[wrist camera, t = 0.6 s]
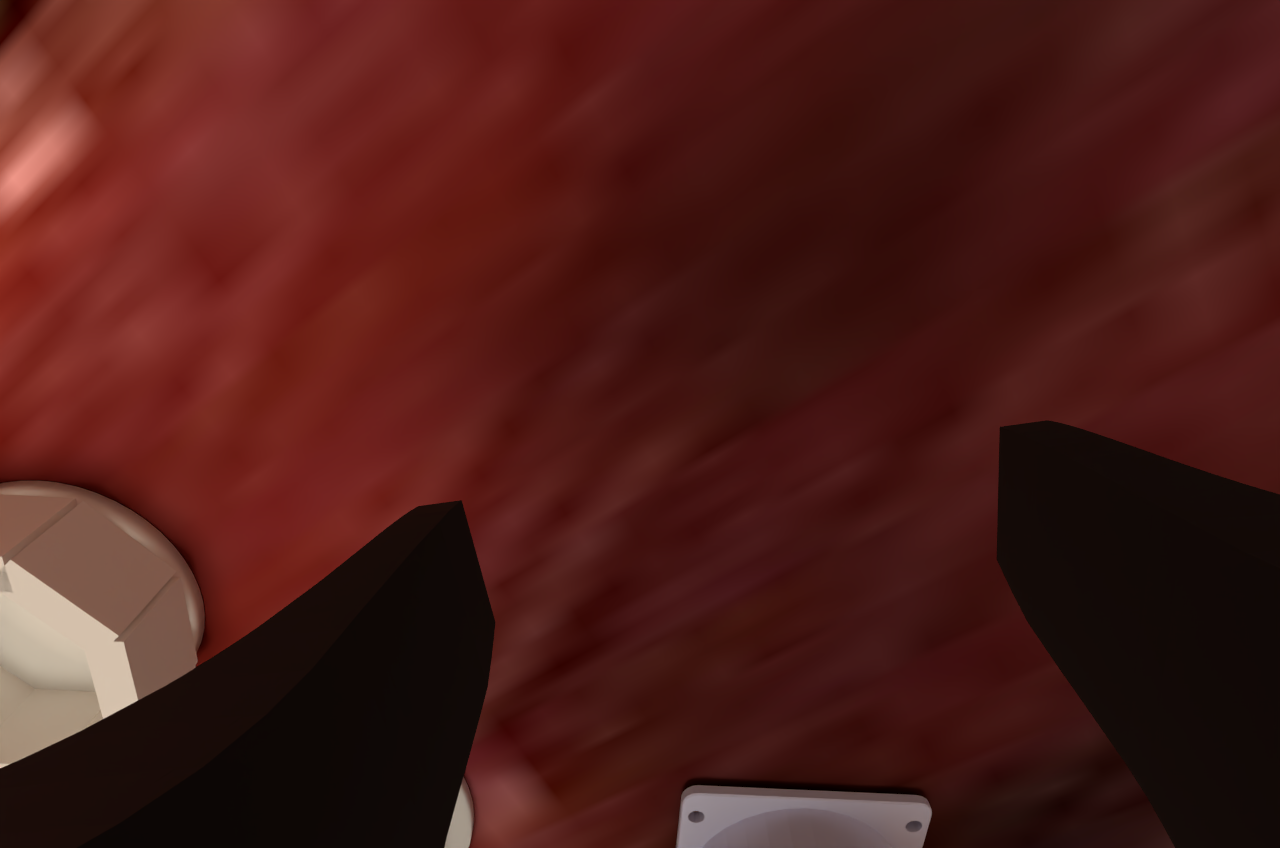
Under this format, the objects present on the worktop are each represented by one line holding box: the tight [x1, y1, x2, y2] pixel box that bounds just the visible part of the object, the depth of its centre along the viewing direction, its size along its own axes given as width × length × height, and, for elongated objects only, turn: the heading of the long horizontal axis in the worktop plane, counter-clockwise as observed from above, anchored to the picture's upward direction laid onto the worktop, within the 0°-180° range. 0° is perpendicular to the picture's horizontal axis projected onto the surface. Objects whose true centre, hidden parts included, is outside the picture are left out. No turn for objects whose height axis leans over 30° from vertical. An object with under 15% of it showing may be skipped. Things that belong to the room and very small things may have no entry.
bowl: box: [0, 480, 205, 768], centre depth 22 cm, size 8×8×4 cm
